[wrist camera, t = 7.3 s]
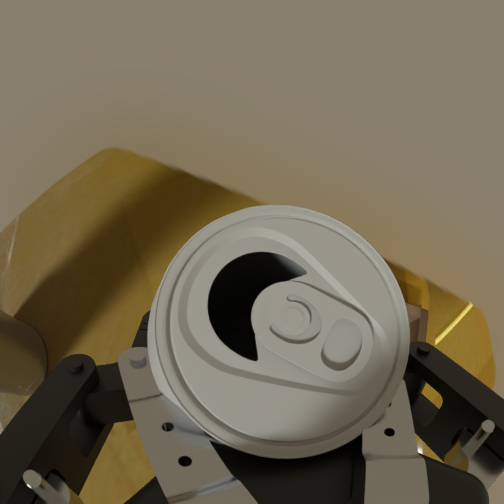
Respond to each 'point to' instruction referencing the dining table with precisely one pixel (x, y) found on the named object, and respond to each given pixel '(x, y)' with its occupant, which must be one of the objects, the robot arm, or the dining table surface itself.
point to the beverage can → (279, 332)
